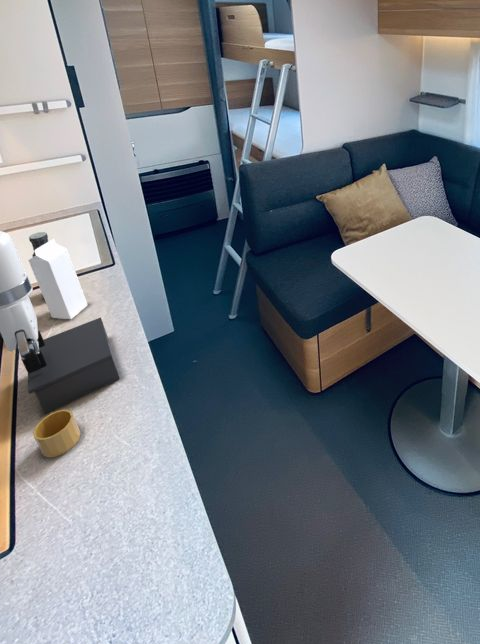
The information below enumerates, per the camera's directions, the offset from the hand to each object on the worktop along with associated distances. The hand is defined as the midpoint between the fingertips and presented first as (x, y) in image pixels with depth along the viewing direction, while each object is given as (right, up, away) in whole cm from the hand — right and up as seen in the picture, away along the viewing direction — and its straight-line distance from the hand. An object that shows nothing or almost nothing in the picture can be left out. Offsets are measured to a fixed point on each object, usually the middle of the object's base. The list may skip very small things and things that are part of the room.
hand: (36, 357), depth 88 cm
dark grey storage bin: (+5, -6, +7) cm, 10 cm away
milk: (-13, +1, +27) cm, 29 cm away
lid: (+4, -1, +4) cm, 6 cm away
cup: (+12, -13, -9) cm, 19 cm away
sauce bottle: (-22, +4, +34) cm, 41 cm away
